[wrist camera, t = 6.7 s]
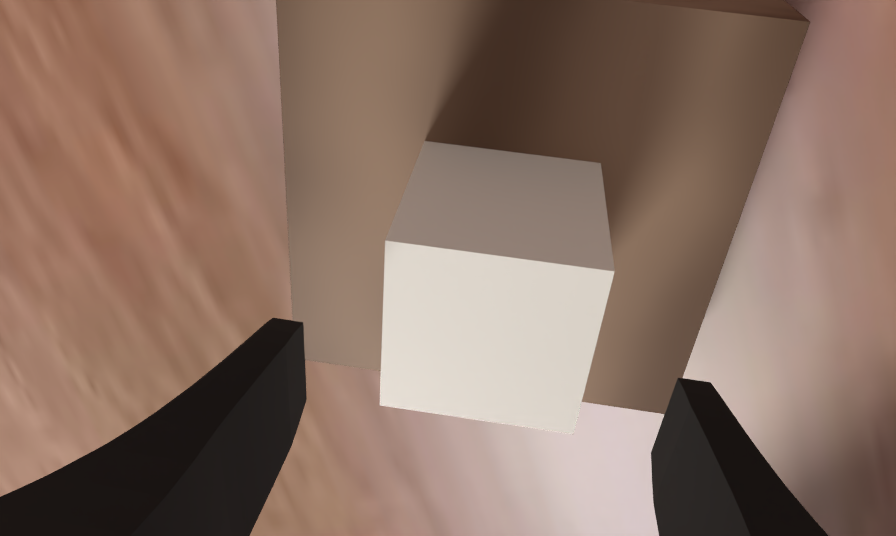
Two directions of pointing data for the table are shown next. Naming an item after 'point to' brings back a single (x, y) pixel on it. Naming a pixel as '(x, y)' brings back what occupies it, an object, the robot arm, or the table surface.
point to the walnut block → (532, 147)
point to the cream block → (495, 286)
